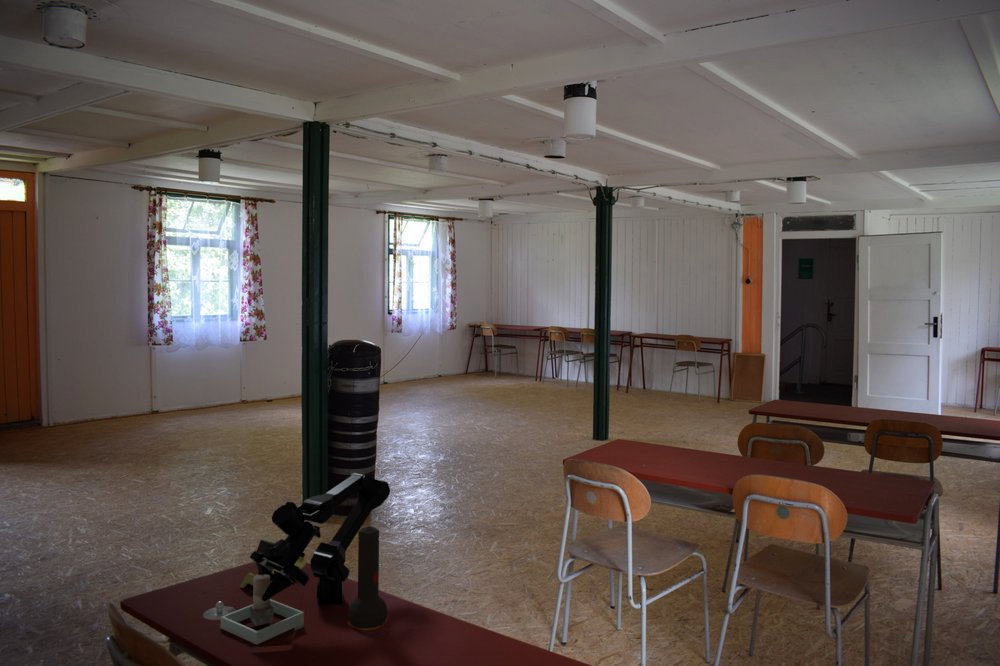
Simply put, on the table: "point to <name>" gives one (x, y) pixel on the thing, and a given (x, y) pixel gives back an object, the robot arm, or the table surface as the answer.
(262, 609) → the strut
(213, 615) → the stud mount
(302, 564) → the plastic component
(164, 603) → the table surface
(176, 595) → the table surface
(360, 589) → the flashlight
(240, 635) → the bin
